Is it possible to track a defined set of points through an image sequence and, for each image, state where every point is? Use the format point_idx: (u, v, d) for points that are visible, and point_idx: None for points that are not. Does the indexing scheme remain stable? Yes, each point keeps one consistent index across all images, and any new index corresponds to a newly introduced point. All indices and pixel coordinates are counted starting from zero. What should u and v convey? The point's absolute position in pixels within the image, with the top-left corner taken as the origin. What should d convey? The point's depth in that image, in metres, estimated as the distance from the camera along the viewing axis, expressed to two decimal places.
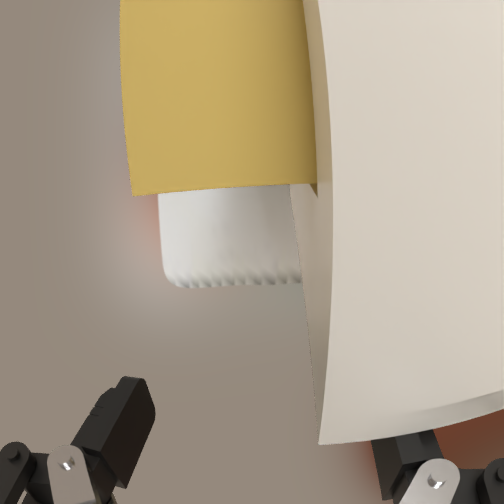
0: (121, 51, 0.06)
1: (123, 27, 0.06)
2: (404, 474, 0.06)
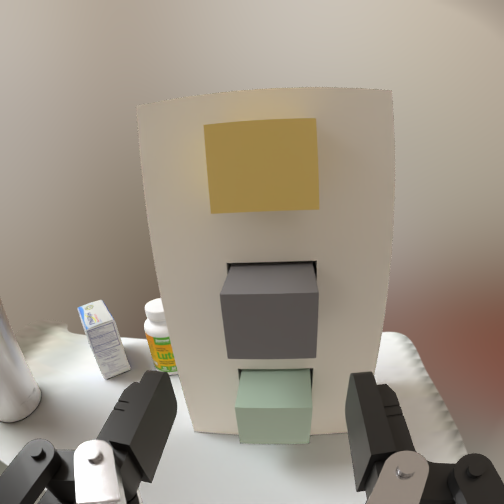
0: (242, 122, 0.16)
1: (230, 122, 0.16)
2: (374, 464, 0.07)
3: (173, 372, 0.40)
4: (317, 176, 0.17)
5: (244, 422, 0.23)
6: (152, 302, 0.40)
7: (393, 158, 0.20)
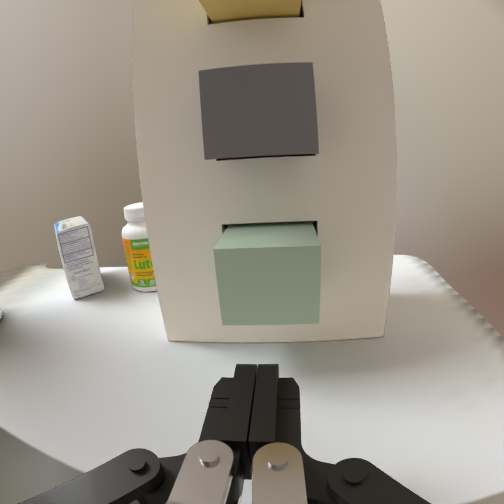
0: None
1: None
2: None
3: (151, 287, 0.35)
4: None
5: (226, 278, 0.19)
6: (132, 204, 0.36)
7: None
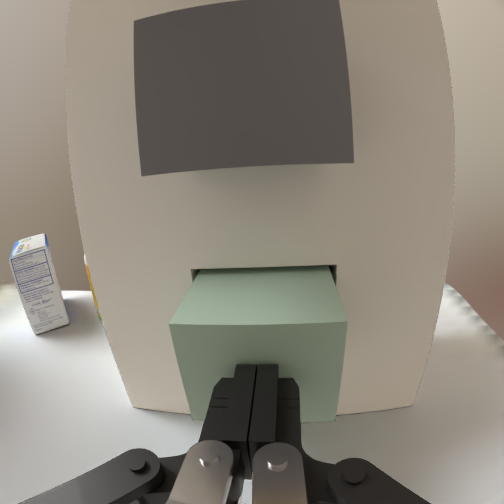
0: None
1: None
2: None
3: None
4: None
5: (192, 365, 0.11)
6: None
7: None
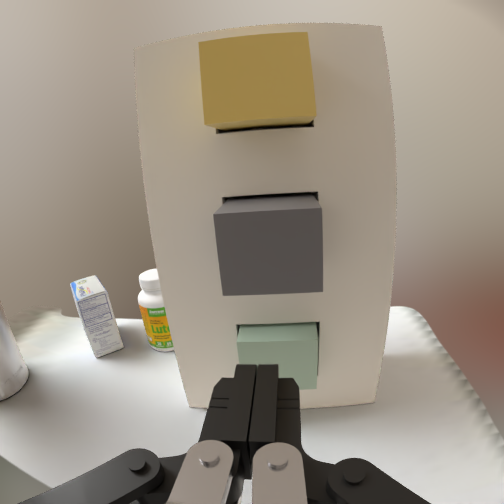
0: (236, 37, 0.15)
1: (224, 38, 0.15)
2: None
3: (168, 348, 0.38)
4: (312, 83, 0.15)
5: (246, 361, 0.24)
6: (146, 272, 0.38)
7: (389, 87, 0.18)
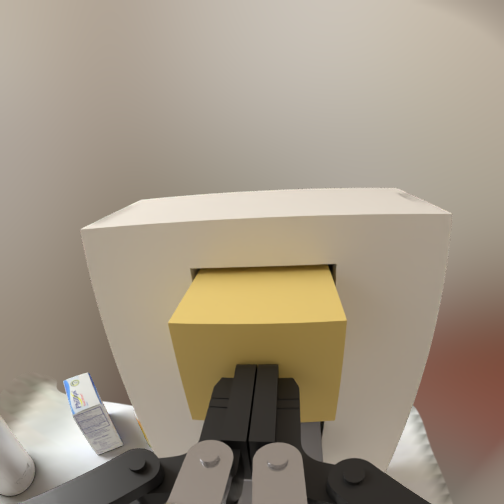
0: (228, 326, 0.10)
1: (209, 322, 0.11)
2: None
3: None
4: (337, 390, 0.11)
5: None
6: None
7: (437, 307, 0.14)
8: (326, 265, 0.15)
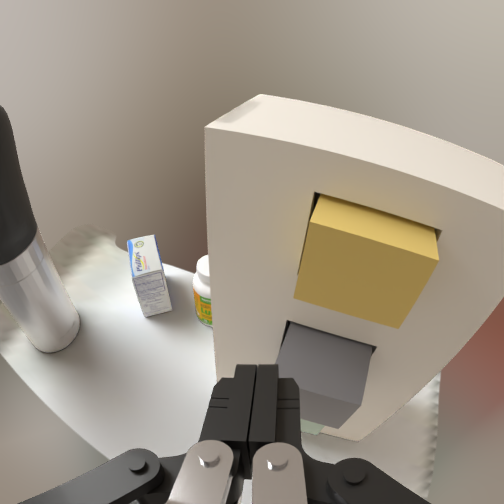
0: (357, 236, 0.13)
1: (343, 229, 0.13)
2: None
3: None
4: (411, 307, 0.14)
5: None
6: (205, 258, 0.40)
7: (502, 296, 0.14)
8: None
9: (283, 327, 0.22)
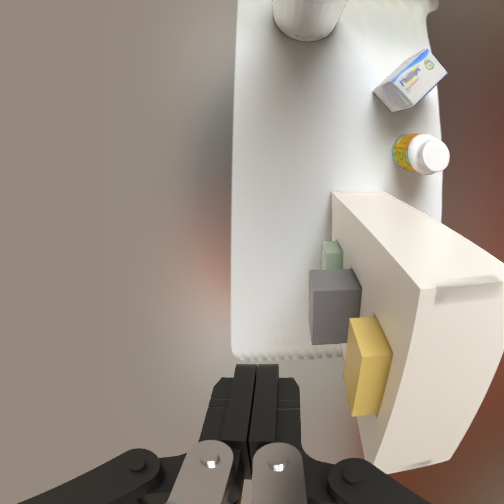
0: (358, 379, 0.20)
1: (361, 373, 0.20)
2: None
3: (394, 157, 0.42)
4: (346, 389, 0.24)
5: (324, 253, 0.40)
6: (440, 145, 0.32)
7: (360, 435, 0.25)
8: None
9: (360, 282, 0.29)
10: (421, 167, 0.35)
